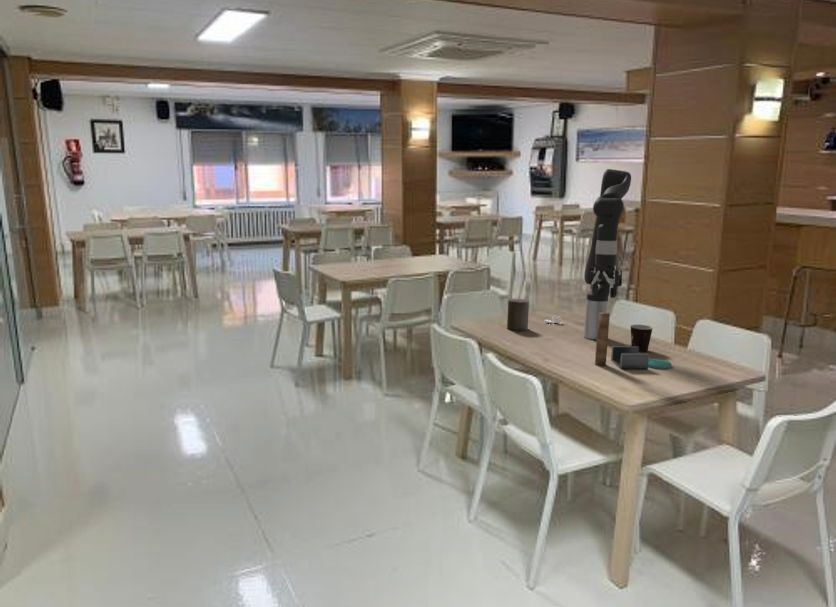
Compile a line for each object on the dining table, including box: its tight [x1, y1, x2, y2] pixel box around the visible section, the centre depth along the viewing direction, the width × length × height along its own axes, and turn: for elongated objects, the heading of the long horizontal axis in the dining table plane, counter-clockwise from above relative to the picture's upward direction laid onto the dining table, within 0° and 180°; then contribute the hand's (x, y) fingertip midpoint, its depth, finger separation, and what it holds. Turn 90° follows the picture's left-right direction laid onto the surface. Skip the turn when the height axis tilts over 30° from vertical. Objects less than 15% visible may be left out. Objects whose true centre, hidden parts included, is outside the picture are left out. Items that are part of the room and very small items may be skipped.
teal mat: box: [648, 358, 673, 370], centre depth 245 cm, size 10×10×1 cm
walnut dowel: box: [594, 312, 611, 367], centre depth 242 cm, size 4×4×20 cm
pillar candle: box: [506, 297, 530, 332], centre depth 298 cm, size 10×10×15 cm
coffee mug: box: [630, 324, 653, 353], centre depth 263 cm, size 12×9×10 cm
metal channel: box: [610, 345, 650, 371], centre depth 244 cm, size 12×10×6 cm
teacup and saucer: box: [544, 315, 562, 324], centre depth 312 cm, size 9×8×4 cm
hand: (603, 296), depth 238 cm, fingers open, 8 cm apart
